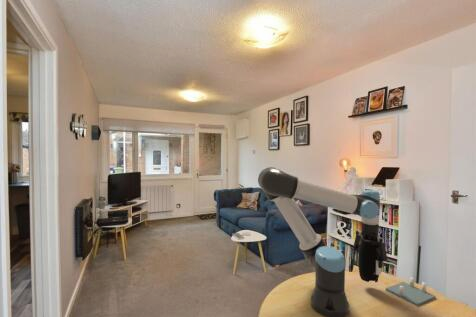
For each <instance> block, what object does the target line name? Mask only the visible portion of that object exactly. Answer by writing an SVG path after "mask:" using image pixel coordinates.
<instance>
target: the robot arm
mask: <svg viewBox="0 0 476 317" xmlns="http://www.w3.org/2000/svg"><path fill="white" fill-rule="evenodd" d="M257 183H258V186H259V187H260V189H262V191H263V192H264V194H265V195H266V197H267V199H268V200H269V201H270V202H274V203H275V205H276V207H277V208H278V210H279V212H280V213H281V215H282V216H283V218H284V220H285V221H286V222H287V224H288V226H289V227H290V229H291V231H292V232H293V233H294V235H295V237H296V239H297V240H298V242H299V244H298V245H299V249H300V251H301V252H302V254H303V257H304V258H305V260H306V261H307V262H308V263H309V264H310V266H311V268H312V269H313V270H314V274H315V276H314V277H315V280H314V281H315V283H314V288H313V292H312V294H311V297H310V306H311V307H312V309H313V310H314V311H315V312H317V313H319V314H321V315H322V316H325V317H346V316H348V314H349V312H350V305H349V301H348V298H347V294H346V291H345V284H346V282H345V281H346V280H345V279H346V259H345V256H344V253H343V252H342V251H341V250H339V249H338V248H334V247H332V246H328V245H327V244H326V241H325V240H324V239H323V237H322V235H321V234H319V233H317V232H315V231H314V229H313V227H312V225H311V224H310V222H309V221H308V219H307V218H306V216H305V215H304V213H303V211H302V210H301V208H300V207H299V205H298V203H297V202H296V200H295V199H298V200H301V201H306V202H310V203H312V204H317V205H320V206H323V207H328V208H332V209H335V210H338V211H342V212H344V213H345V212H346V213H349V214H352V215H354V216H355V215H356V216H358V217H361V223H360V226H361V227H360V229H361V230H356V231H355V238H354V243H353V246H352V247H353V248H352V249H353V250H355V251H356V259H358V254H359V245H360V241H361V240H360V239H361V237H363V239H364V240H366V239H367V240H369V241H376V240H378V242H379V249H377V248H376V247H375V248H376V256H377V259H378V260H376V275H379V276H380V275H382V269H383V267H384V262H385V261H388V254H387V249H386V244H385V243H386V238H385V237H380V236H379V232H380V224H379V223H380V207H381V205H380V202H381V198H380V197H381V196H380V195H381V194H380V192H379V191H378V190H373V189H363V190H362V192H361V194H360V193H359V194H349V193H346V192H342V191H338V190H335V189H331V188H327V187H324V186H321V185H318V184H314V183H310V182H308V181H303V180H300V179H299V177H297V176H295V175H291V174H289V173H287V172H284V171H282V170H281V169H278V168H276V167H272V166H271V167H270V166H268V167H266V168H264V169H263V170H261V171H260V172H259V175H258V178H257Z"/></svg>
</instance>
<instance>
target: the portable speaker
mask: <svg viewBox="0 0 476 317" xmlns="http://www.w3.org/2000/svg"><path fill="white" fill-rule="evenodd" d="M375 247H376V248H377V249H379V242H378V240H376V241H369V240H367V239H366V240H364V239H363V236H361V239H360V245H359V254H358V258H357V267H358V272H359V274H358V275H359V277H360V279H361V280H362V281H364V282H367V283H369V282H374V283H377V282H379V277H380V274H379V275H376V260H378V259H377V256H376V248H375Z"/></svg>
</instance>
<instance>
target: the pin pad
mask: <svg viewBox="0 0 476 317" xmlns="http://www.w3.org/2000/svg"><path fill="white" fill-rule="evenodd" d="M385 291H386V292H388V293H390V294H392V295H394V296H396V297H398V298H400V299H402V300H404V301H406V302H408V303H410V304H412V305H413V306H416V307H419V306H421V305H424V304H426V303H428V302H431V301H433V300H435V299H437V298H436V297H437V296H436V295H434V294H431V293H429V292H428V291H427V283H426V282H424V281H422V282H421V289H420V288H418V287H416V286H415V278H414V277H412V276H410V277H409V283H407V282H405V281H402V282H400V283H396V284H394V285H391V286H388V287H385Z"/></svg>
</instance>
